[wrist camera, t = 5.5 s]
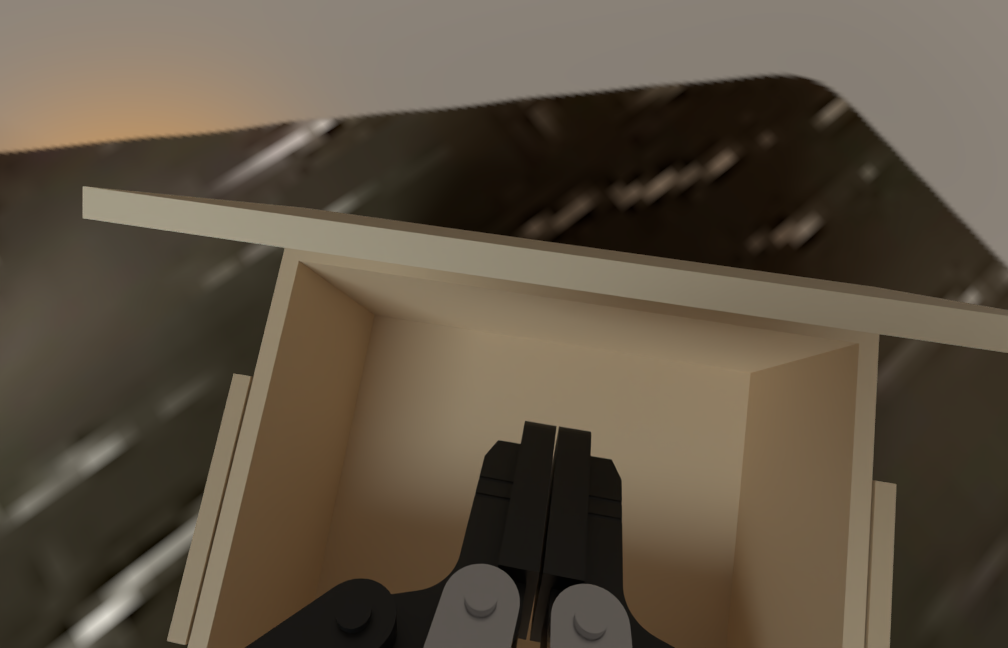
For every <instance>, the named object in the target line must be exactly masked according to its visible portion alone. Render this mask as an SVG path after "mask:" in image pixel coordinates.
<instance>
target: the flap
mask: <svg viewBox="0 0 1008 648" xmlns="http://www.w3.org/2000/svg"><path fill="white" fill-rule="evenodd" d="M83 218H85V219H92V220H99V221H105V222H112V223H119V224H126V225H133V226H140V227H147V228H154V229H160V230H167V231H174V232H181V233H188V234H195V235H202V236H209V237H215V238H222V239H229V240H236V241H243V242H250V243H257V244H264V245H270V246H277V247H284V248H291V249H298V250H305V251H312V252H319V253H325V254H332V255H339V256H346V257H353V258H360V259H367V260H374V261H380V262H387V263H394V264H401V265H408V266H415V267H422V268H429V269H435V270H442V271H449V272H456V273H463V274H470V275H477V276H484V277H490V278H497V279H504V280H511V281H518V282H525V283H532V284H539V285H545V286H552V287H559V288H566V289H573V290H580V291H587V292H594V293H600V294H607V295H614V296H621V297H628V298H635V299H642V300H648V301H655V302H662V303H669V304H676V305H683V306H690V307H697V308H703V309H710V310H717V311H724V312H731V313H738V314H745V315H752V316H758V317H765V318H772V319H779V320H786V321H793V322H800V323H807V324H813V325H820V326H827V327H834V328H841V329H848V330H855V331H862V332H868V333H875V334H882V335H889V336H896V337H903V338H910V339H917V340H923V341H930V342H937V343H944V344H951V345H958V346H965V347H972V348H978V349H985V350H992V351H999V352H1006V353H1008V310H1004V309H998V308H992V307H986V306H981V305H975V304H969V303H964V302H958V301H952V300H946V299H941V298H935V297H929V296H924V295H918V294H912V293H906V292H901V291H895V290H889V289H883V288H878V287H871V286H864V285H857V284H850V283H843V282H835V281H828V280H821V279H814V278H806V277H799V276H792V275H785V274H778V273H770V272H763V271H756V270H749V269H742V268H734V267H727V266H720V265H713V264H706V263H698V262H691V261H684V260H677V259H669V258H662V257H655V256H648V255H641V254H633V253H626V252H619V251H612V250H605V249H597V248H590V247H583V246H576V245H569V244H561V243H554V242H547V241H540V240H532V239H525V238H518V237H511V236H504V235H496V234H489V233H482V232H475V231H468V230H460V229H453V228H446V227H439V226H432V225H424V224H417V223H410V222H403V221H395V220H388V219H381V218H374V217H367V216H359V215H352V214H345V213H338V212H331V211H323V210H316V209H309V208H302V207H291V206H281V205H271V204H261V203H250V202H240V201H230V200H219V199H209V198H199V197H188V196H178V195H168V194H158V193H147V192H137V191H127V190H116V189H106V188H96V187H85V186H83Z"/></svg>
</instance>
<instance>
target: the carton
mask: <svg viewBox="0 0 1008 648" xmlns="http://www.w3.org/2000/svg"><path fill="white" fill-rule="evenodd" d="M878 350H879V334H875V333H868V332H862V331H855V330H848V329H841V328H834V327H827V326H820V325H813V324H807V323H800V322H793V321H786V320H779V319H772V318H765V317H758V316H752V315H745V314H738V313H731V312H724V311H717V310H710V309H703V308H697V307H690V306H683V305H676V304H669V303H662V302H655V301H648V300H642V299H635V298H628V297H621V296H614V295H607V294H600V293H594V292H587V291H580V290H573V289H566V288H559V287H552V286H545V285H539V284H532V283H525V282H518V281H511V280H504V279H497V278H490V277H484V276H477V275H470V274H463V273H456V272H449V271H442V270H435V269H429V268H422V267H415V266H408V265H401V264H394V263H387V262H380V261H374V260H367V259H360V258H353V257H346V256H339V255H332V254H325V253H319V252H312V251H305V250H298V249H291V248H285V250H284V254H283V258H282V262H281V266H280V270H279V274H278V278H277V283H276V287H275V291H274V295H273V299H272V303H271V307H270V311H269V315H268V320H267V324H266V328H265V332H264V336H263V340H262V344H261V348H260V352H259V356H258V361H257V365H256V369H255V373H254V377H251V376H245V375H239V374H234V375H233V379H232V383H231V387H230V391H229V395H228V399H227V403H226V407H225V411H224V415H223V419H222V423H221V427H220V431H219V435H218V439H217V443H216V447H215V451H214V455H213V459H212V463H211V467H210V471H209V475H208V479H207V483H206V487H205V491H204V495H203V499H202V503H201V507H200V511H199V515H198V519H197V523H196V527H195V531H194V535H193V539H192V543H191V547H190V551H189V555H188V559H187V563H186V567H185V571H184V575H183V579H182V583H181V587H180V591H179V595H178V599H177V603H176V607H175V611H174V615H173V619H172V623H171V627H170V631H169V635H168V639H167V641H169V642H174V643H179V644H184V645H186V644H187V643H189V644H188V648H245V647H246V646H248V645H249V644H251V643H252V642H254V641H255V640H257V639H258V638H260V637H261V636H263V635H264V634H266V633H267V632H268V631H270V630H271V629H273V628H274V627H276V626H277V625H279V624H280V623H282V622H283V621H285V620H286V619H288V618H289V617H291V616H292V615H294V614H295V613H296V612H298V611H299V610H301V609H302V608H304V607H305V606H307V605H308V604H310V603H311V602H313V601H314V600H316V599H317V598H319V597H320V596H322V595H323V594H324V593H326V592H327V591H329V590H330V589H332V588H333V587H335V586H337V585H338V584H340V583H342V582H345V581H347V580H352V579H359V578H363V579H370V580H374V581H376V582H379V583H380V584H382V585H383V586H385V587H386V588H387V589H388V590H389V592H390V593H391V594H396V593H403V592H410V591H417V590H422V589H426V588H429V587H432V586H434V585H436V584H438V583H439V582H441V581H442V580H443V579H445V578H446V577H447V576H448V575H449V574H450V573H451V572H452V570H453V569H454V567H455V566H456V564H457V562H458V559H459V556H460V552H461V548H462V544H463V540H464V536H465V532H466V528H467V524H468V520H469V516H470V512H471V508H472V504H473V500H474V496H475V493H476V488H477V484H478V480H479V477H480V472H481V468H482V464H483V460H484V456H485V455H486V454H487V453H488V451H489V450H490V449H491V448H492V447H493V446H494V444H495V443H496V442H497V441H498V440H501V441H507V442H513V443H518V444H521V439H522V434H523V428H524V423H525V421H530V422H536V423H542V424H548V425H554V426H556V435H555V444H554V451H555V445H556V440H557V434H558V429H559V426H560V427H566V428H572V429H578V430H584V431H590V432H591V456H594V457H600V458H606V459H612V461H613V463H614V465H615V467H616V469H617V471H618V473H619V475H620V477H621V479H622V504H621V505H622V543H623V591H624V597H625V601H626V603H627V606H628V608H629V610H630V612H631V613H632V615H633V616H634V618H635V619H636V620H637V622H638V623H639V624H640V625H641V626H642V627H643V628H644V629H645V630H647V631H648V632H649V633H650V634H652V635H654V636H655V637H657V638H658V639H660V640H662V641H664V642H666V643H667V644H669V645H671V646H673V647H675V648H890V626H891V602H892V578H893V553H894V529H895V505H896V484H892V483H886V482H880V481H874V480H872V473H873V452H874V432H875V411H876V391H877V370H878ZM553 456H554V452H553ZM534 599H535V597H534ZM533 608H534V602H533V607H532V612H531V618H530V623H529V628H528V633H527V638H526V640H524V639H519V638H518V641H517V647H516V648H540V642H535V641H530V632H531V624H532V616H533Z"/></svg>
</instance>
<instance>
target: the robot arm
mask: <svg viewBox="0 0 1008 648" xmlns="http://www.w3.org/2000/svg"><path fill="white" fill-rule="evenodd" d="M555 435H556V426H554V425H548V424H542V423H536V422H530V421H525V423H524V428H523V434H522V439H521V444H518V443H513V442H507V441H501V440H498V441H497V442H496V443H495V444H494V446H493V447H492V448H491V449H490V450H489V451H488V453H487V454H486V455H485V456H484V460H483V464H482V468H481V472H480V477H479V480H478V484H477V488H476V493H475V496H474V500H473V504H472V508H471V512H470V516H469V520H468V524H467V528H466V532H465V536H464V540H463V544H462V548H461V552H460V556H459V559H458V562H457V564H456V566H455V567H454V569H453V570H452V572H451V573H450V574H449V575H448V576H447V577H446V578H445V579H443V580H442V581H441V582H439V583H438V584H436V585H434V586H432V587H429V588H426V589H422V590H417V591H410V592H403V593H396V594H391V593H390V592H389V590H388V589H387V588H386V587H385V586H383V585H382V584H380V583H379V582H376V581H374V580H370V579H363V578H359V579H352V580H347V581H345V582H342V583H340V584H338V585H337V586H335V587H333V588H332V589H330V590H329V591H327V592H326V593H324V594H323V595H322V596H320V597H319V598H317V599H316V600H314V601H313V602H311V603H310V604H308V605H307V606H305V607H304V608H302V609H301V610H299V611H298V612H296V613H295V614H294V615H292V616H291V617H289V618H288V619H286V620H285V621H283V622H282V623H280V624H279V625H277V626H276V627H274V628H273V629H271V630H270V631H268V632H267V633H266V634H264V635H263V636H261V637H260V638H258V639H257V640H255V641H254V642H252V643H251V644H249V645H248V646H246V647H245V648H516V647H517V641H518V638H519V639H524V640H526V638H527V633H528V628H529V623H530V618H531V612H532V607H533V602H534V608H533V616H532V624H531V632H530V641H535V642H540V648H675V647H673V646H671V645H669V644H667V643H666V642H664V641H662V640H660V639H658V638H657V637H655V636H654V635H652V634H650V633H649V632H648V631H647V630H645V629H644V628H643V627H642V626H641V625H640V624H639V623H638V622H637V620H636V619H635V618H634V616H633V615H632V613H631V612H630V610H629V608H628V606H627V603H626V601H625V597H624V591H623V543H622V505H621V504H622V479H621V477H620V475H619V473H618V471H617V469H616V467H615V465H614V463H613V461H612V459H606V458H600V457H594V456H591V432H590V431H584V430H578V429H572V428H566V427H560V426H559V429H558V434H557V440H556V445H555V451H554V444H555ZM553 452H554V456H553ZM534 597H535V599H534Z"/></svg>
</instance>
